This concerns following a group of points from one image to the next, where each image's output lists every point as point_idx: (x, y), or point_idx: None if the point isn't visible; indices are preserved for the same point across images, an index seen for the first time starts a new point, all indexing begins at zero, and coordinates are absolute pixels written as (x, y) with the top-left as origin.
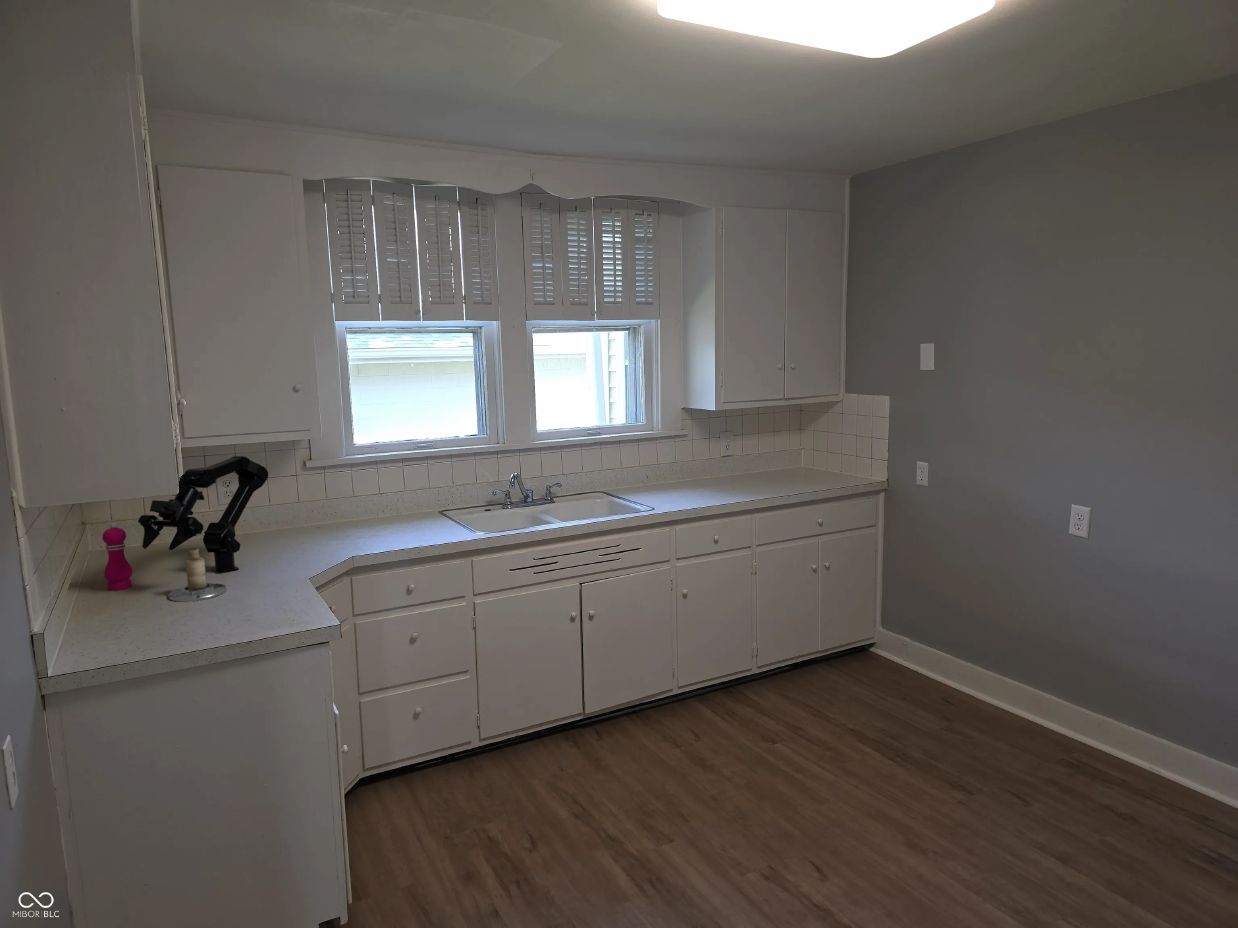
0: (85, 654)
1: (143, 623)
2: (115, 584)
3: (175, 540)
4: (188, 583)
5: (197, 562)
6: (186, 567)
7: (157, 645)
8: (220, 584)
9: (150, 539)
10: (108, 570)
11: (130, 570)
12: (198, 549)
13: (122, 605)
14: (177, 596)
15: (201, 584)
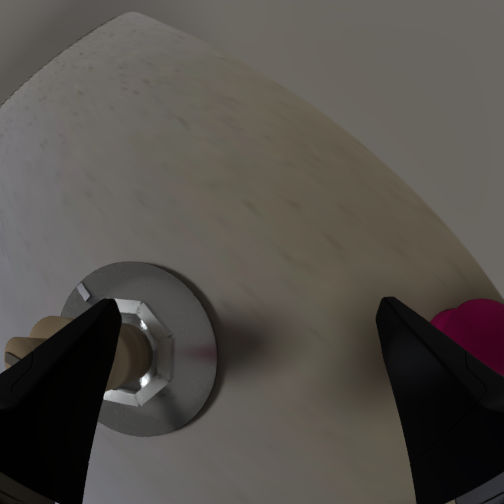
0: (132, 32)
1: (118, 116)
2: (446, 315)
3: (50, 340)
4: (121, 325)
5: (35, 331)
6: None
7: (53, 80)
8: (110, 425)
9: (411, 393)
10: (488, 300)
11: None
12: (6, 368)
13: (284, 196)
14: (149, 285)
15: None
